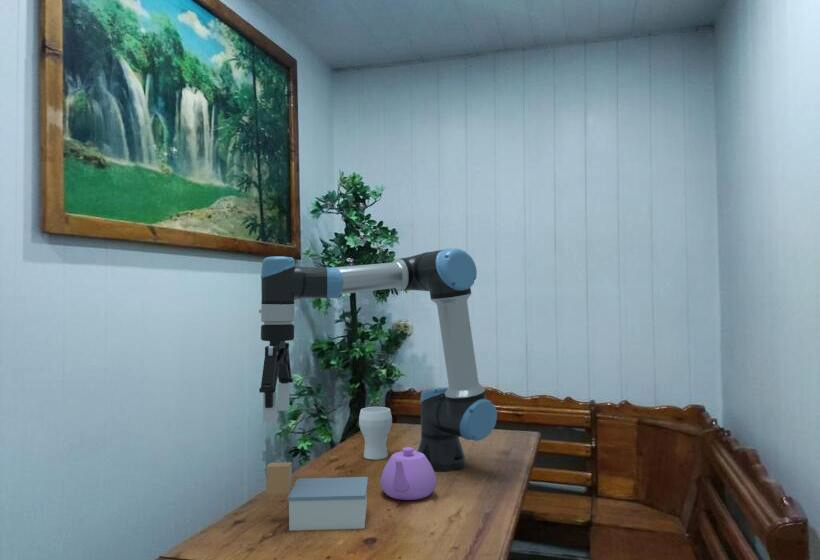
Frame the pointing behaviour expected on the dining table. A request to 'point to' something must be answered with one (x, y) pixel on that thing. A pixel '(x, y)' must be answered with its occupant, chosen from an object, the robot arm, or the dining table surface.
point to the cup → (375, 431)
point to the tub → (327, 514)
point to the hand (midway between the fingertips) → (277, 416)
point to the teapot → (408, 475)
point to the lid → (313, 485)
